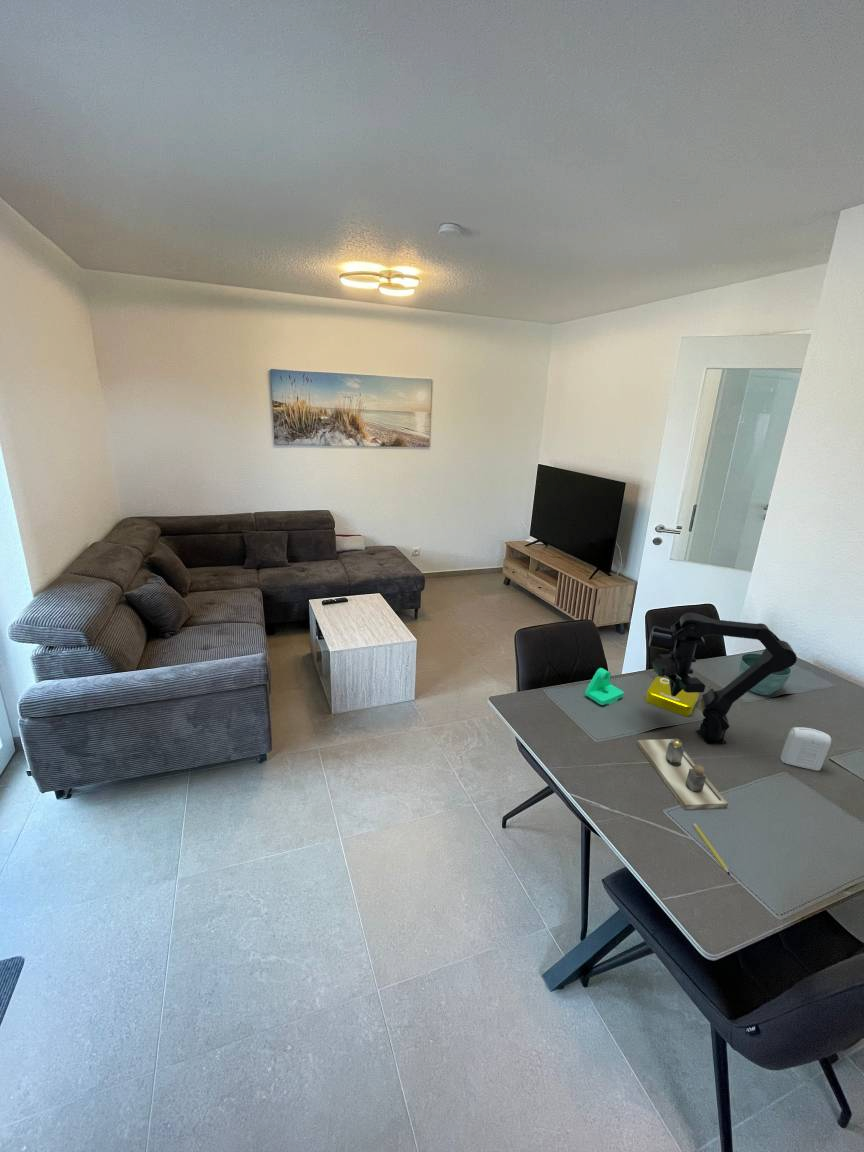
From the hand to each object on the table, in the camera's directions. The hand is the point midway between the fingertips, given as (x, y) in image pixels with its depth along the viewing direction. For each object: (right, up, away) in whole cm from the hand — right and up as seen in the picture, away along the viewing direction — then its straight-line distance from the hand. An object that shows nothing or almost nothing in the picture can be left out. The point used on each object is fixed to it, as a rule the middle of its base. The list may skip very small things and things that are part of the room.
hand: (673, 695), depth 160 cm
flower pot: (+46, -5, +29) cm, 55 cm away
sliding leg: (-7, -16, -14) cm, 22 cm away
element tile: (+9, -7, +19) cm, 22 cm away
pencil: (-10, -28, -40) cm, 50 cm away
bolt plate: (-6, -19, -16) cm, 25 cm away
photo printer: (+33, -18, -10) cm, 39 cm away
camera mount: (-16, -6, +19) cm, 25 cm away
